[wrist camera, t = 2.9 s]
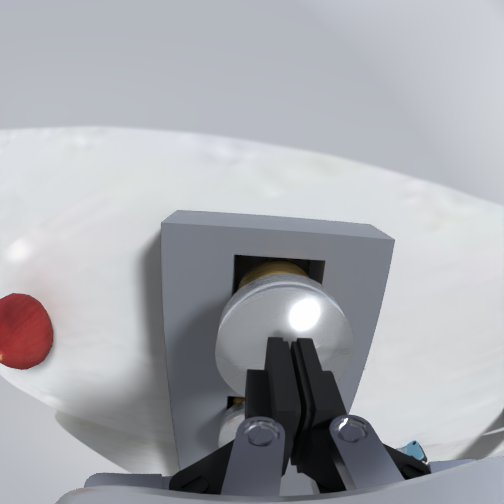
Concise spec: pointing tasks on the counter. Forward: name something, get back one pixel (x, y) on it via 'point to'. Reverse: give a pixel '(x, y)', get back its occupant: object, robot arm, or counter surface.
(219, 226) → the knob panel
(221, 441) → the knob middle
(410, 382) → the counter surface
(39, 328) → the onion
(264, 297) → the knob
